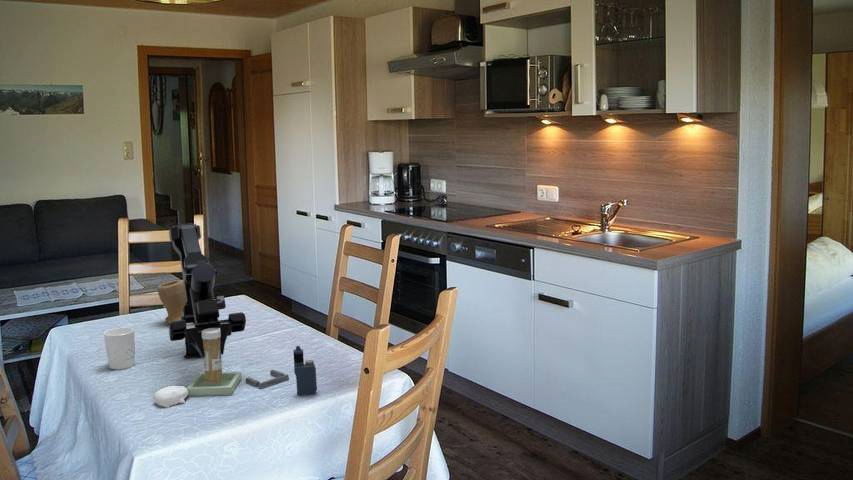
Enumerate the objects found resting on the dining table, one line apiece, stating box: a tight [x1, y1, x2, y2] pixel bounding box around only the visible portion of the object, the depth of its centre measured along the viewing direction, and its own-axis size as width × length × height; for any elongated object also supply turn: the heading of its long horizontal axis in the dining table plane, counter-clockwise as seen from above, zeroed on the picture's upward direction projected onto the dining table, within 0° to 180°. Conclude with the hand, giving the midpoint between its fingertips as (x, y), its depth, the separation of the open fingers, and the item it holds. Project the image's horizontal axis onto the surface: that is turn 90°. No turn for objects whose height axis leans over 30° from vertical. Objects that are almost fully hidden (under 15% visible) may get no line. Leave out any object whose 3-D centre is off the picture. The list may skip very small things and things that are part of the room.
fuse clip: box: [245, 369, 290, 390], centre depth 191 cm, size 7×9×1 cm
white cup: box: [103, 327, 136, 370], centre depth 206 cm, size 8×8×10 cm
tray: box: [186, 371, 242, 397], centre depth 188 cm, size 11×11×2 cm
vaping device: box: [292, 345, 318, 396], centre depth 181 cm, size 3×5×12 cm, turn 95°
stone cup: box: [156, 279, 186, 324], centre depth 246 cm, size 15×12×15 cm
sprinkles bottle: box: [202, 328, 223, 384], centre depth 187 cm, size 5×5×13 cm
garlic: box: [153, 385, 189, 408], centre depth 179 cm, size 8×7×4 cm
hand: (213, 355), depth 185 cm, fingers closed on sprinkles bottle, 4 cm apart
